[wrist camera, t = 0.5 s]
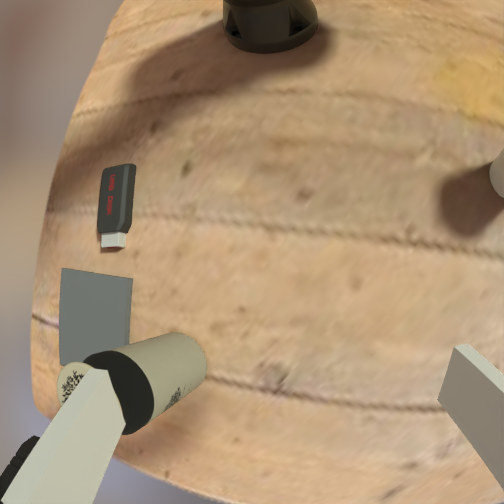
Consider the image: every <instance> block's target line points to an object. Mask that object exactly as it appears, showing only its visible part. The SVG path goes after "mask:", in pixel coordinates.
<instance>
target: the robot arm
mask: <svg viewBox="0 0 504 504" xmlns="http://www.w3.org/2000/svg"><path fill="white" fill-rule="evenodd" d="M317 26H318V17H317V11H316V8H315V6H314V4H313V2H312V1H311V0H223V28H224V31H225V33H226V35H227V37H228V39H229V41H230V42H231V43H232V44H233V45H235V46H236V47H238V48H240V49H242V50H245V51H249V52H255V53H274V52H280V51H285V50H288V49H291V48H294V47H296V46H298V45H300V44H302V43H304V42H305V41H307V40H308V39H309V38H310V37H311V36H312V35H313V34H314V33H315V31H316V29H317ZM437 400H438V401H439V402H440V404H441V405H442V406H443V408H444V409H445V410H446V411H447V413H448V414H449V415H450V417H451V418H452V419H453V421H454V422H455V423H456V424H457V426H458V427H459V428H460V430H461V431H462V432H463V434H464V435H465V436H466V438H467V439H468V441H469V442H470V443H471V445H472V446H473V447H474V449H475V450H476V451H477V453H478V454H479V456H480V457H481V458H482V460H483V461H484V463H485V464H486V465H487V467H488V468H489V470H490V471H491V472H492V474H493V475H494V477H495V478H496V480H497V481H498V483H499V484H500V485H501V487H502V488H503V490H504V374H502V373H501V372H500V371H499V370H498V369H497V368H496V367H494V366H493V365H492V364H491V363H490V362H489V361H488V360H486V359H485V358H484V357H483V356H482V355H481V354H479V353H478V352H477V351H476V350H475V349H474V348H472V347H471V346H470V345H469V344H468V343H466V344H462V345H458V346H454V348H453V352H452V355H451V359H450V362H449V366H448V369H447V372H446V375H445V379H444V382H443V385H442V388H441V391H440V393H439V396H438V399H437ZM125 425H126V423H125V420H124V418H123V415H122V412H121V410H120V407H119V404H118V401H117V398H116V395H115V392H114V389H113V386H112V383H111V380H110V377H109V374H108V370H101V369H92V368H90V369H89V370H88V371H87V373H86V374H85V376H84V377H83V378H82V380H81V381H80V382H79V384H78V385H77V386H76V388H75V389H74V391H73V392H72V393H71V395H70V396H69V397H68V399H67V400H66V402H65V403H64V404H63V406H62V407H61V409H60V410H59V412H58V413H57V414H56V416H55V417H54V419H53V420H52V422H51V423H50V424H49V426H48V427H47V429H46V430H45V432H44V433H43V435H42V436H41V438H40V437H37V436H33V437H31V438H30V439H28V440H27V441H25V442H24V443H23V444H22V445H21V447H20V448H19V450H18V451H17V452H16V456H14V457H13V458H12V460H11V461H10V465H8V466H7V467H6V469H5V470H4V472H3V473H2V475H1V476H0V504H93V501H94V498H95V496H96V494H97V491H98V489H99V486H100V484H101V481H102V479H103V476H104V474H105V471H106V469H107V467H108V464H109V462H110V459H111V457H112V455H113V452H114V450H115V448H116V445H117V443H118V441H119V438H120V436H121V434H122V431H123V429H124V427H125Z"/></svg>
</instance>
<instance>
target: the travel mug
mask: <svg viewBox="0 0 504 504" xmlns="http://www.w3.org/2000/svg"><path fill="white" fill-rule="evenodd" d="M90 368H92V369H101V370H108V374H109V377H110V380H111V383H112V386H113V389H114V392H115V395H116V398H117V401H118V404H119V407H120V410H121V412H122V415H123V418H124V420H125V423H126V425H125V427H124V429H123V431H122V434H121V435H129V434H132V433H134V432H136V431H137V430H139V429H140V428H142V427H143V426H145V425H146V424H147V423H149V422H150V421H152V420H153V419H155V418H156V417H157V416H159V415H160V414H162V413H163V412H164V411H166V410H167V409H168V408H170V407H171V406H173V405H174V404H175V403H177V402H178V401H179V400H181V399H182V398H183V397H185V396H186V395H187V394H189V393H190V392H191V391H193V390H194V389H195V388H197V387H198V386H199V385H200V384H201V383H202V382H203V380H204V378H205V375H206V371H207V363H206V358H205V355H204V353H203V351H202V349H201V347H200V346H199V345H198V344H197V342H196V341H194V340H193V339H192V338H190V337H189V336H187V335H185V334H182V333H168V334H164V335H161V336H157V337H154V338H150V339H147V340H143V341H140V342H136V343H133V344H129V345H125V346H122V347H118V348H114V349H110V350H107V351H103V352H99V353H95V354H92V355H90V356H88V357H87V358H86V359H85V360H84V361H83V362H71V363H69V364H67V365H65V366H64V367H63V368H62V370H61V371H60V374H59V376H58V380H57V394H58V399H59V403H60V406H61V407H62V406H63V404H64V403H65V402H66V400H67V399H68V397H69V396H70V395H71V393H72V392H73V391H74V389H75V388H76V386H77V385H78V384H79V382H80V381H81V380H82V378H83V377H84V376H85V374H86V373H87V371H88V370H89V369H90Z"/></svg>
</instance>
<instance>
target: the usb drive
mask: <svg viewBox="0 0 504 504" xmlns="http://www.w3.org/2000/svg"><path fill="white" fill-rule="evenodd" d="M135 174H136V165H134V164H123V165H118V166H114V167H109V168H105V169H104V170H103V173H102V180H101V189H100V198H99V209H98V221H97V227H98V232H99V233H101V234H102V240H101V247H103V248H124V247H125V239H126V233H128V231H129V229H130V227H131V224H132V209H133V196H134V184H135Z"/></svg>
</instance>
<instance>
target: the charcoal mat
mask: <svg viewBox="0 0 504 504" xmlns="http://www.w3.org/2000/svg"><path fill="white" fill-rule="evenodd" d="M132 282H133V279H132V278H125V277H118V276H111V275H105V274H98V273H92V272H86V271H80V270H74V269H68V268H62V271H61V285H60V305H59V355H60V364H61V365H63V366H65V365H67V364H69V363H71V362H83V361H84V360H85V359H86V358H87V357H88V356H90V355H92V354H95V353H99V352H103V351H107V350H110V349H114V348H118V347H122V346H125V345H129V332H130V311H131V295H132Z"/></svg>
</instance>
